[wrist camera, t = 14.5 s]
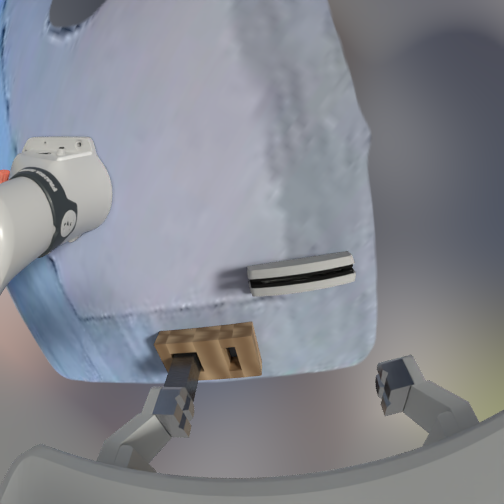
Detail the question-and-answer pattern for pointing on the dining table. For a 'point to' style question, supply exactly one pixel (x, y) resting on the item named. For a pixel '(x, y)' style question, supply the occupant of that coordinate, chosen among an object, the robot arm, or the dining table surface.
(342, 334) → the dining table surface
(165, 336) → the socket block
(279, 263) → the grey piece
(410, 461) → the robot arm
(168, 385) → the steel peg
